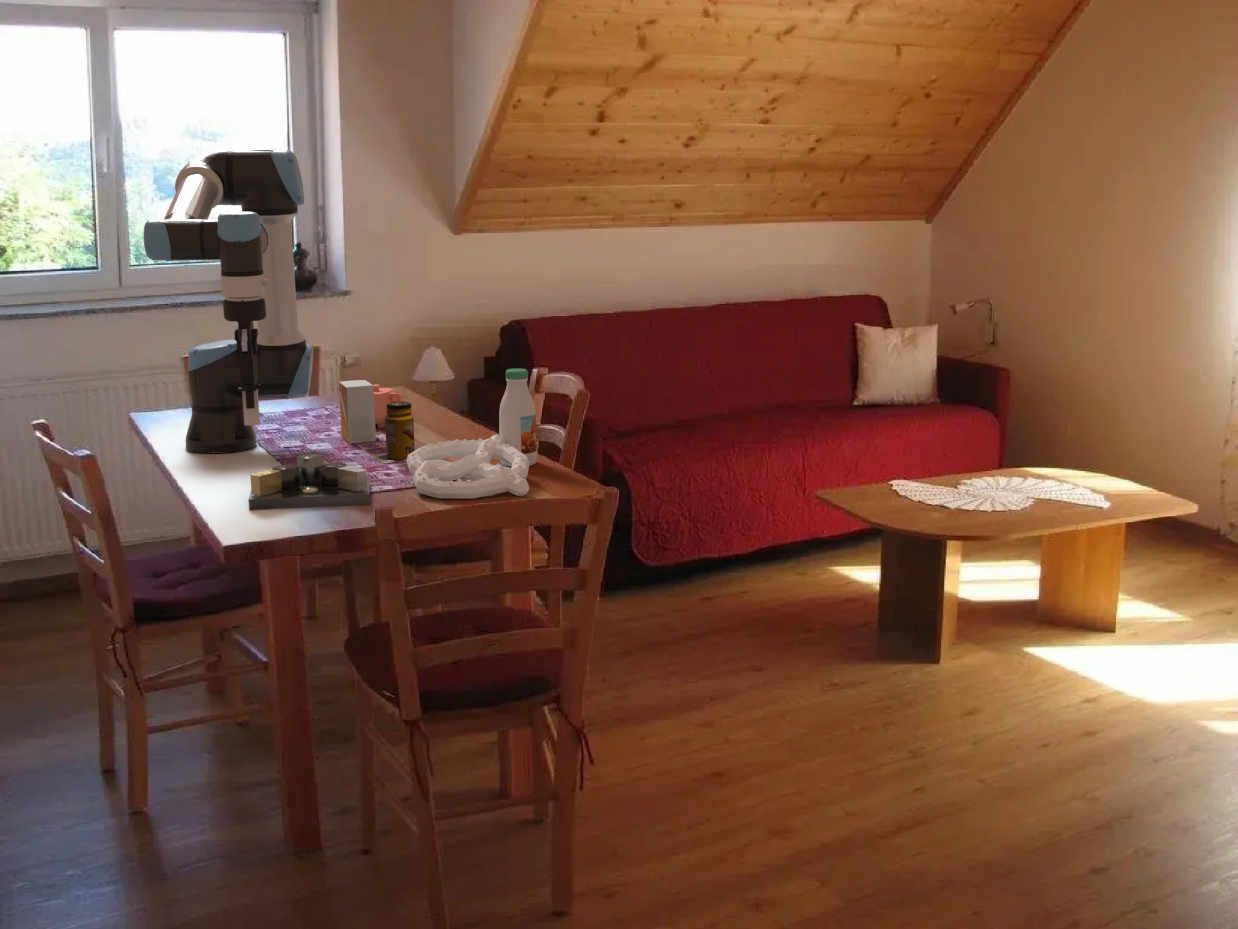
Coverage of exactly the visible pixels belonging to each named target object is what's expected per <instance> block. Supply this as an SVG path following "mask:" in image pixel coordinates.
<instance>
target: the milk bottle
mask: <svg viewBox="0 0 1238 929" xmlns="http://www.w3.org/2000/svg"><path fill="white" fill-rule="evenodd" d="M505 381H506V389H505V391H504V394H503V396H502V399H501V401H500V404H499V416H498V420H499V421H498V422H499V423H498V424H499V426H498V427H499V428H498V430H499V434H498V435H500V436H502V437H503V438H504V440H505V442H506V443H505V445H506V444H508V445H509V446H512V447H514V448H515V449H518V450H519V451H520V452H521V453H523V454H524V455H526V456H527V458H528V460H529V462H530V463H529V467H530V466H533V465H535V464H536V463H537V460H538V456H537V455H538V452H537V450H538V449H537V446H538V445H537V413H536V406H535V402H534V399H533V397H532V395H531V393H530V390H529V387H528V381H529V372H528V370H527V369H526V368H508V369H506V370H505ZM499 462H500V464H501V466H504V467H509V468H512V467H511V466H510V465H508V464H507V463H506V462H504V461H502V460H499Z"/></svg>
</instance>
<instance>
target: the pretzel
mask: <svg viewBox="0 0 1238 929" xmlns="http://www.w3.org/2000/svg"><path fill="white" fill-rule="evenodd" d="M505 443H506V442H505V440H504V438H503V437H502V436H500V435H499V434H498V433H497V434H494V435H491V437H489V438H486V439H484V440H483V438H480V437H479V438H478V440H477V439H476V440H475V439H471V440H468V439H467V438H464V439H463V440H459V439H457V438H456V439H454V440H450V439H448V440H447V441H443V442H442V441H437V443H434V444H433V443H427V444H426V445H424V446H423V445H420V447H419V448H417V449H416V450H415V451H414V452H412V453H410V454H409V455H408V457H407V460H406V461H405V462H406V464H407V467H408V471H409V472H410V475H411V476H412V480H413V483H414V486H415V488H416V491H417V493H419V494H422V495H425V496H429V497H432V498H436V499H438V500H439V499H441V500H443V499H449V500H450V499H452V500H453V499H455V500H456V499H467V500H469V499H478V498H483V497H487V496H492V495H497V494H501V493H506V492H509V493H510V494H513V495H515V496H517V497H524V496H525V495H527V493H528V492H529V491H530V486H529V483H528V481H527V477H528V474H529V468H530V466H529V463H530V462H529V460H528V458H527V456H526V455H524V454H523V453H521V452H520V451H519V450H518V449H515V448H514V447H512V446H509V445H508V444H506V445H505ZM454 457H462V458H461V459H459V460H458V461H456V460H454V461H452V462H451V461H448V460H444V459H450V458H454ZM493 459H494V460H497V461H500V460H502V461H504V462H506V463H507V464H508V465H510V466H511V467H510V466H504V465H502V464H501V462H500V463H496V465H495V464H491V461H492V460H493ZM453 480H456V481H453Z"/></svg>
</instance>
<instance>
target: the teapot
mask: <svg viewBox="0 0 1238 929" xmlns="http://www.w3.org/2000/svg"><path fill="white" fill-rule="evenodd" d="M372 385H373V390H374V410H375V425H377V428H378V429H384V428H385V417H386V415H387V413H386V411H387V407H386V406H387V404H388V403H390V402H397V401H402V402H404V400H403V393H402V392H396V391H395V389H394V388H390V387H381V385H380V384H377V383H376V384H372Z"/></svg>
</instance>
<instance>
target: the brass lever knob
mask: <svg viewBox="0 0 1238 929" xmlns="http://www.w3.org/2000/svg"><path fill="white" fill-rule="evenodd" d="M298 487H300V477H299V466H297V465H295V464H281V465H280V464H279V465H275V466H272V468H271V469H267V470H263V471H259V472H257V473H256V472H254V473H251V474H250V488H251V490H250V493H251V492H252V494H255V495H260V496H261V495H265V494H268V493H272V492H276V491H280V490H290V489H295V488H298Z"/></svg>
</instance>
